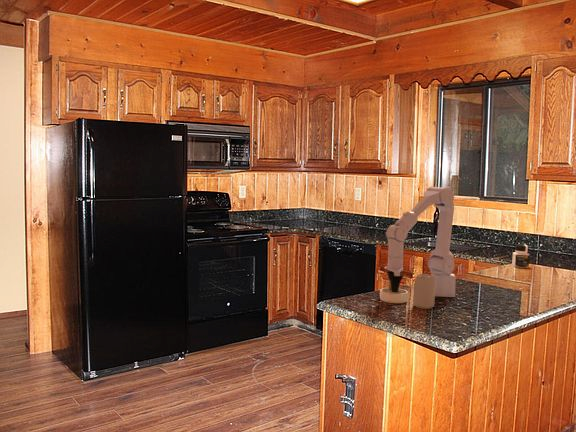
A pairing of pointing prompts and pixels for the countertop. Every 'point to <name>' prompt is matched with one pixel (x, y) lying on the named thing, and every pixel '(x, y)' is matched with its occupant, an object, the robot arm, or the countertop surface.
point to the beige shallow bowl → (394, 296)
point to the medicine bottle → (521, 256)
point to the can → (424, 291)
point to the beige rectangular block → (390, 288)
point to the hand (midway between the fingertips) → (394, 290)
